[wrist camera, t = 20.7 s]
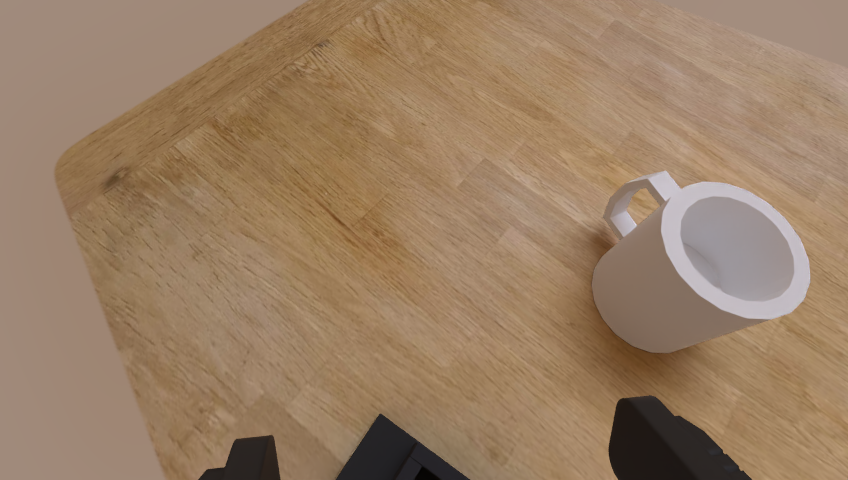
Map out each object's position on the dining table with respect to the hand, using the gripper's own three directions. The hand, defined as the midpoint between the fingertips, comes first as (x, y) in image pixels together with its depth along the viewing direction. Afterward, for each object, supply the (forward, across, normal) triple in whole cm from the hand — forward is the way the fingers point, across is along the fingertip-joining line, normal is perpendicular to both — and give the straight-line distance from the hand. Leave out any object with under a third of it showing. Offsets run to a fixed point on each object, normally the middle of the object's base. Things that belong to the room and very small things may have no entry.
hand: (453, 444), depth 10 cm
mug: (+25, -23, +10) cm, 35 cm away
